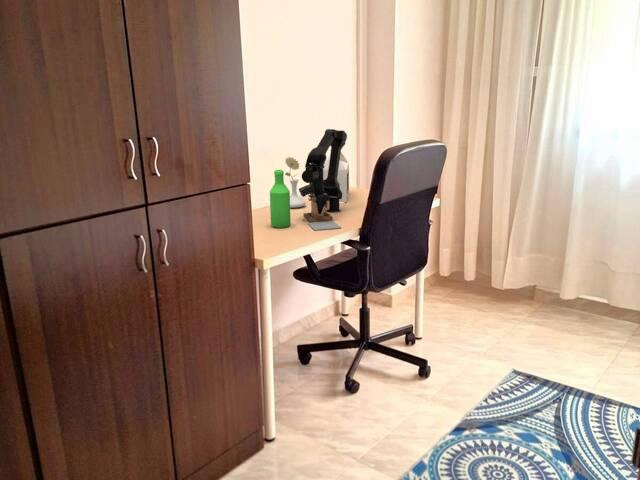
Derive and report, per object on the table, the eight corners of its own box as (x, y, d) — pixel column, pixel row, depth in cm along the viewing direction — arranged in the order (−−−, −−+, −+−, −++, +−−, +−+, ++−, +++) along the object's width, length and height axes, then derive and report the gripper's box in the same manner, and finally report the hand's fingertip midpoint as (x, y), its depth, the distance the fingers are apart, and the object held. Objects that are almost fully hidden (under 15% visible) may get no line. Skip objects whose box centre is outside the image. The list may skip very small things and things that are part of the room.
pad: (333, 222, 257) (333, 220, 257) (341, 228, 246) (341, 227, 246) (307, 224, 254) (307, 222, 254) (314, 231, 243) (314, 229, 243)
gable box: (325, 194, 316) (324, 143, 308) (349, 194, 314) (349, 143, 306) (321, 203, 295) (320, 149, 287) (346, 203, 293) (346, 149, 285)
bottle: (268, 224, 254) (266, 169, 247) (286, 222, 257) (284, 167, 250) (274, 229, 246) (272, 172, 239) (293, 227, 250) (291, 170, 242)
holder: (325, 215, 270) (325, 211, 269) (332, 220, 259) (332, 216, 259) (303, 216, 267) (303, 213, 266) (309, 222, 257) (309, 218, 256)
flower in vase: (310, 207, 286) (309, 157, 279) (291, 210, 280) (289, 160, 272) (296, 202, 296) (295, 154, 289) (277, 205, 290) (275, 156, 283)
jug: (327, 216, 267) (327, 195, 264) (331, 219, 262) (330, 198, 259) (307, 217, 265) (307, 197, 262) (310, 221, 259) (310, 199, 256)
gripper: (295, 176, 264) (296, 209, 269) (305, 184, 247) (305, 218, 252) (318, 175, 267) (318, 207, 272) (329, 182, 250) (329, 216, 254)
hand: (317, 212), depth 262 cm, fingers closed on jug, 6 cm apart
